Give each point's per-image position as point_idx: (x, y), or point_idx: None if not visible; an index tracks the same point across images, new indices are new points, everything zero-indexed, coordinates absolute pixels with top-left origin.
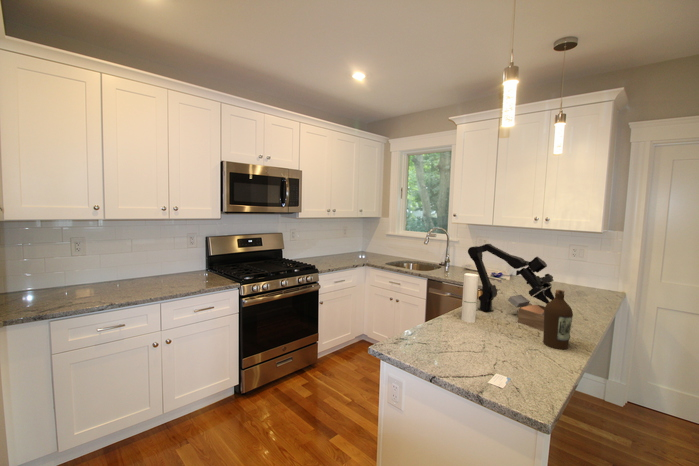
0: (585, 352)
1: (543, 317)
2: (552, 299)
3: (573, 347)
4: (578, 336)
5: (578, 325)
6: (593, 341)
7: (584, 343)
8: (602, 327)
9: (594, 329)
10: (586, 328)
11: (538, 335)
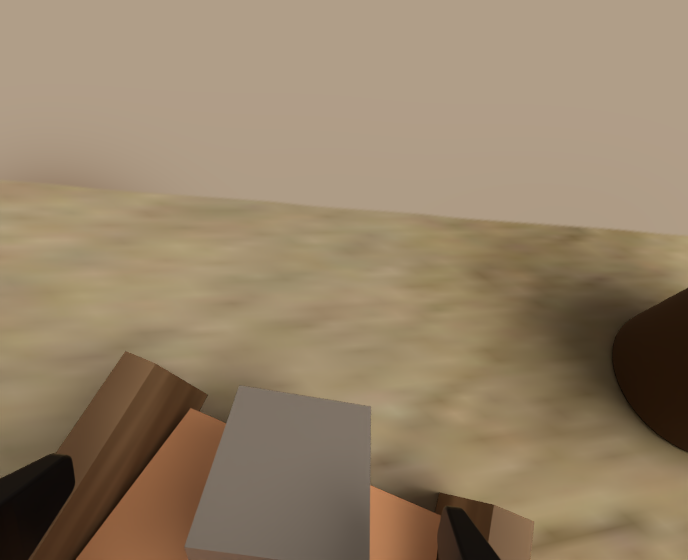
0: (614, 240)
1: (521, 545)
2: (34, 528)
3: (603, 290)
4: (366, 283)
5: (91, 299)
6: (392, 217)
7: (473, 250)
8: (54, 186)
9: (132, 218)
10: (139, 255)
11: (612, 525)
